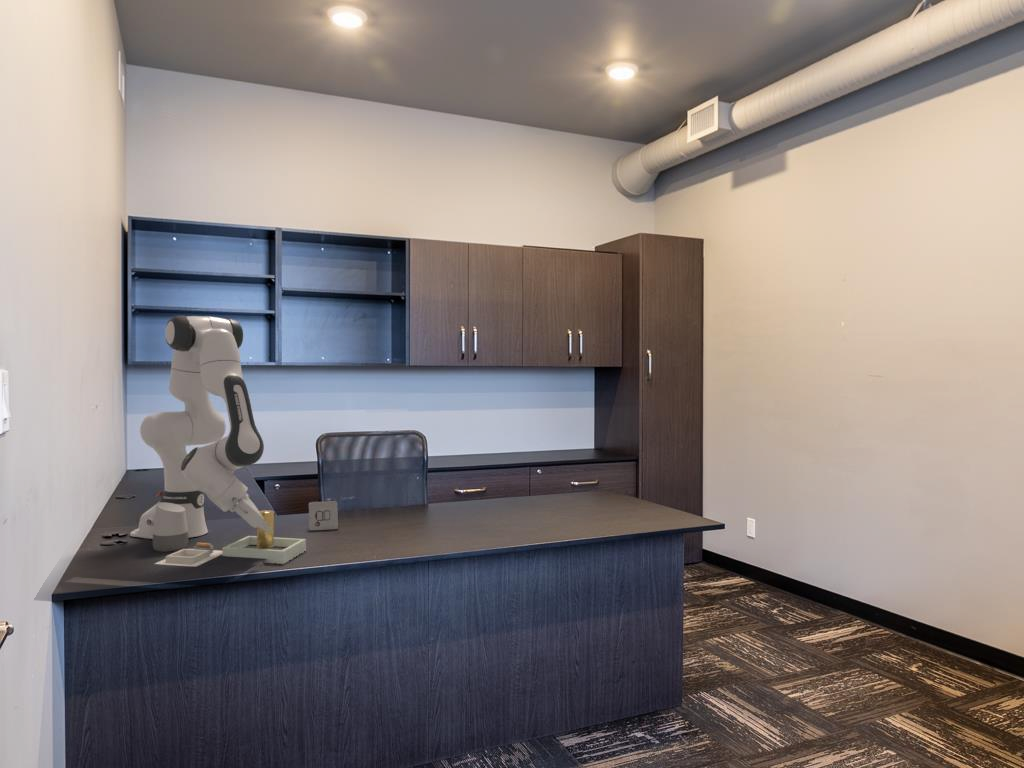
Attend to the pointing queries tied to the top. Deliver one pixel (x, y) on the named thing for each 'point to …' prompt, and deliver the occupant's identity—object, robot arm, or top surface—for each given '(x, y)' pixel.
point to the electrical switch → (323, 515)
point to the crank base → (192, 556)
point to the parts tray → (269, 555)
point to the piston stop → (266, 537)
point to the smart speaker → (170, 527)
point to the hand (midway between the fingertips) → (267, 527)
